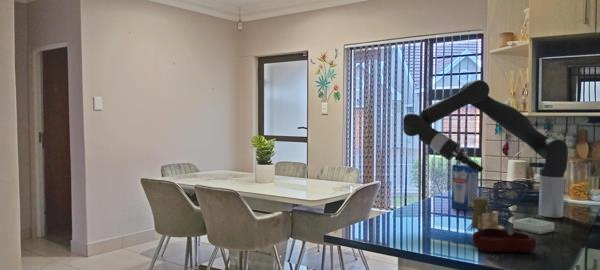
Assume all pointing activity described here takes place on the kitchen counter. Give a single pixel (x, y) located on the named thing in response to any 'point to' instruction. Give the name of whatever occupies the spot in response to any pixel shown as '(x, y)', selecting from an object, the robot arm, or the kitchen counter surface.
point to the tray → (533, 225)
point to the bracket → (489, 219)
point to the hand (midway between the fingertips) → (479, 169)
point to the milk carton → (464, 187)
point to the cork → (478, 209)
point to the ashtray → (503, 241)
